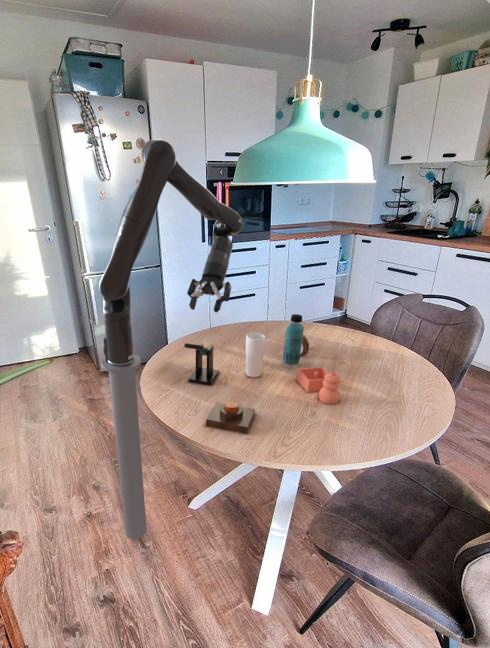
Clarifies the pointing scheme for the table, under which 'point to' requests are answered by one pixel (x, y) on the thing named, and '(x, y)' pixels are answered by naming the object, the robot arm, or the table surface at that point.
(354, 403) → the table surface
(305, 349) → the brown curved piece
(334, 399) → the pottery
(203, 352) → the lever
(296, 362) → the beverage bottle
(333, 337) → the table surface
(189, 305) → the robot arm
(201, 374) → the lever stand
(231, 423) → the button block
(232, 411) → the button
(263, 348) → the drinking glass
